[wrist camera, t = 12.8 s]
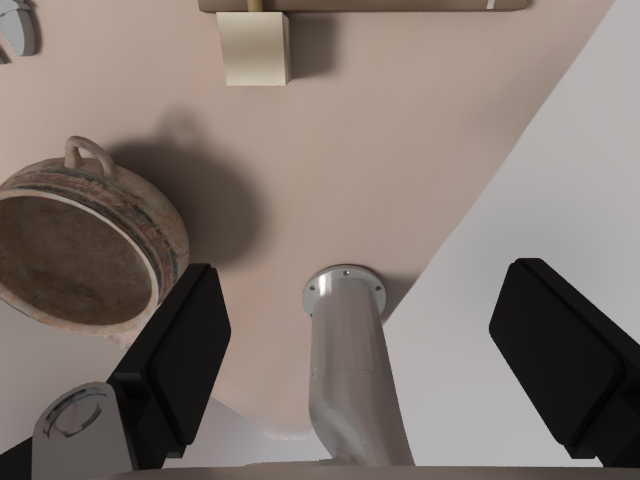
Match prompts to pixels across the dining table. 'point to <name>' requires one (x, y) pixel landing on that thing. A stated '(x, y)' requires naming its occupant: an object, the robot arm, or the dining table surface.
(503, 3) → the board
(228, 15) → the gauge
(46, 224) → the cooking pot
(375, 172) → the dining table surface
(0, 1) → the adjustable wrench
